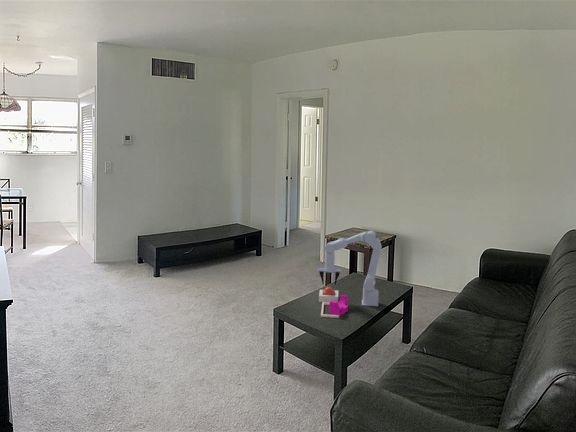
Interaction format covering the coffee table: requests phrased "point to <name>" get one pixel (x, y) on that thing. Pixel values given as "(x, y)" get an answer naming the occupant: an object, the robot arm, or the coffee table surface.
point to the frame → (326, 314)
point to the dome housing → (328, 297)
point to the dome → (328, 291)
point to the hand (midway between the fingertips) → (329, 283)
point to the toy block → (339, 306)
